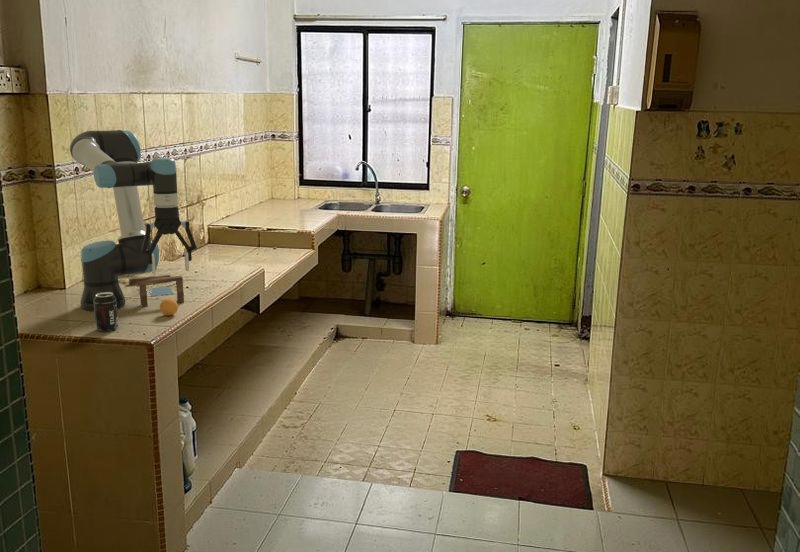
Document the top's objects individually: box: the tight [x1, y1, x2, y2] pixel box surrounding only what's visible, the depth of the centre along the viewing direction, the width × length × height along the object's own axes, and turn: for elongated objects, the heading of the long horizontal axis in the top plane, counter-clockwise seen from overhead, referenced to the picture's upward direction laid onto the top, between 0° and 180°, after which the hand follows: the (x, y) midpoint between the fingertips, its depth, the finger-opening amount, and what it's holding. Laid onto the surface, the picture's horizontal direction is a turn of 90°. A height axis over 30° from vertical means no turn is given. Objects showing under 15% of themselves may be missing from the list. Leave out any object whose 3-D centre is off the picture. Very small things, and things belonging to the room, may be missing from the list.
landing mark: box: [137, 286, 175, 297], centre depth 277 cm, size 12×12×1 cm
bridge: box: [138, 275, 185, 307], centre depth 260 cm, size 3×15×10 cm, turn 117°
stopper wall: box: [128, 274, 171, 286], centre depth 291 cm, size 16×2×2 cm, turn 117°
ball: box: [159, 298, 179, 316], centre depth 247 cm, size 6×6×6 cm
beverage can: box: [93, 292, 119, 332], centre depth 230 cm, size 7×7×12 cm
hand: (170, 271), depth 235 cm, fingers open, 10 cm apart
